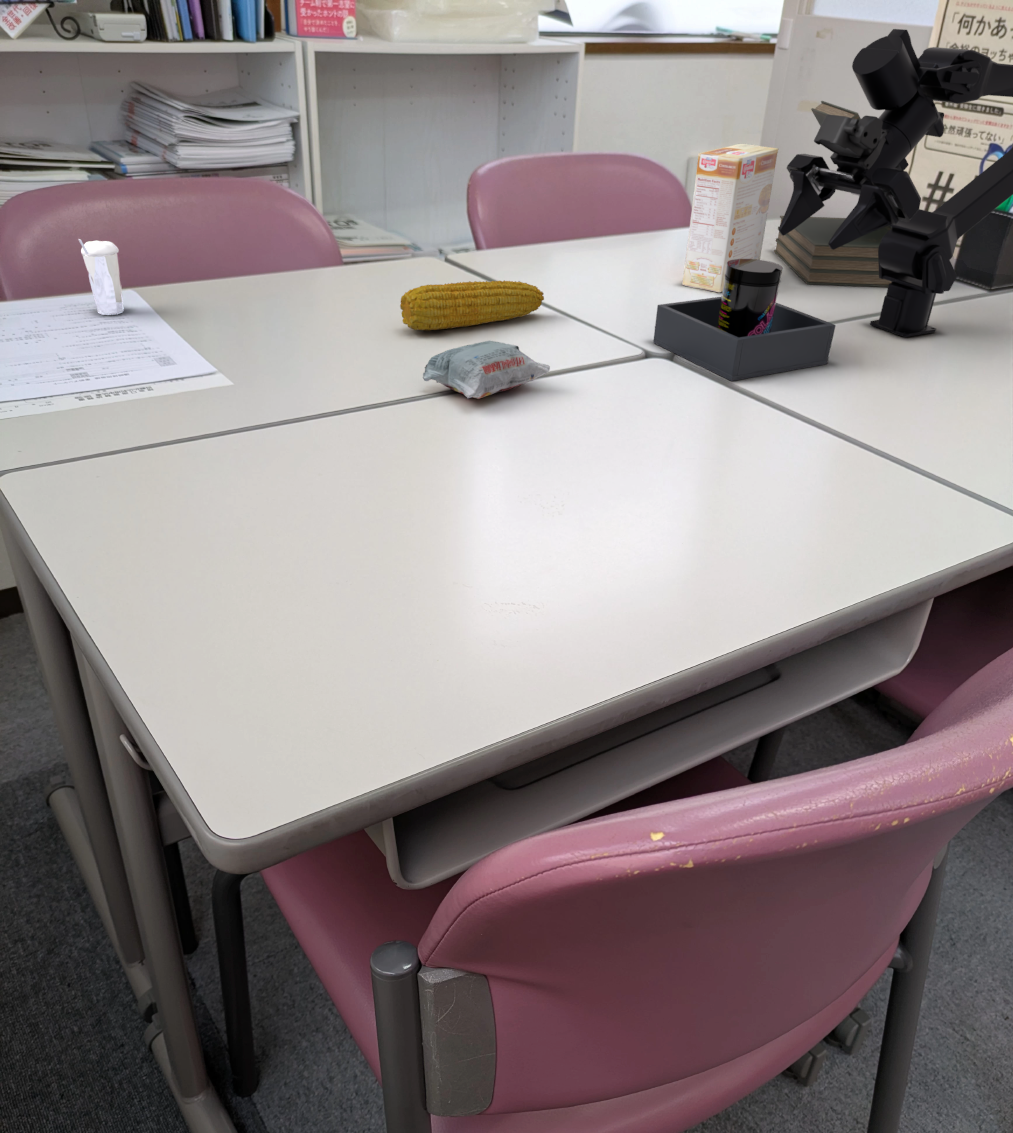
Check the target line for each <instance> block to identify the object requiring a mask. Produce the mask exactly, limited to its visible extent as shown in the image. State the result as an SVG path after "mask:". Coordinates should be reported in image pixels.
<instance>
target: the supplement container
mask: <svg viewBox="0 0 1013 1133" xmlns="http://www.w3.org/2000/svg"><path fill="white" fill-rule="evenodd" d="M783 269H784V268H783V266H782V265H780V264H779V263H776V262H773V261H769V260H762V259H760V260H756V259H735V260H730V261H728V262H727V265H726V272H725V280H724V286H723V291H722V292H721V293H722V294H721V297H722V299H721V306H720V312H719V319H718V325H717V328H718V329H720V330H722V331H725V332H727V333H729V334H732V335H734V336H736V337H745V336H752V335H758V334H765V333H770V332H771V327H772V321H773V316H774V311H775V305H776V303H777V299H778V295H779V288H780V283H781V279H782V273H783Z"/></svg>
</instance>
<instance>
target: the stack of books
mask: <svg viewBox="0 0 1013 1133" xmlns="http://www.w3.org/2000/svg"><path fill="white" fill-rule="evenodd" d="M810 110H811V112H812V113H813V116H814V117H815V119H816V121H817V123H818V125H819V127H821V125H822V123H823V121H824V118H825V116H826V115H827V114H829V115H838V116H846V117H850V118H852V119H858V120H859V121H860V120H861V119H862V117H861V116H860V114H859V112H856V111H855V110H851V109H848V108H845V107H842V106H839V105H836V104H833V103H830V102H827V101H824V100H821V101H820V104H819V105H817V106H816V107H814V108H813V107H812V108H810ZM783 217H784V215H779V218H780V222H779V226H777V230H778V235H777V238H775V242H776V246H775V249H774V250H773V252H774V253H775V254H776V255H777V256H778V257H779V258H780V259H781V260H782V261H783V262H784V263H785V264H786V265H787V266H788V267H789V268H790V269H791V270H792V271H793V272H794V273H795V274H796V275H797V276H798V277H799V278H800V279H801V280H802V281H803V282H804V283H805V284H806V285H819V286H821V285H822V286H827V285H828V286H848V287H849V286H850V287H873V288H874V287H876V288H888V286H889V284H890V283H892V282H891V281H888V280H885V279H880V278H879V263H878V248H879V245H880V242H881V239H882V238H883V236H884V235H885V234H886V233H887V232H888V231H889V230H890V229H892V228H891V227H890V225H888V226H886V227H883V228H881V229H878V230H876V231H873V232H871V233H869V234H866V235H864V236H862V237H860V238H857V239H855V240H853V241H851V242H849V243H847V244H845V245H843V246H841V247H838V248H836V249H834V250H833V249H831V248H830V247H829V245H828V242H829V241H830V239H831V238H832V236H833V235H834V233H835V232H836V230H837V229H838V228H839V227H840V225H841V224H842V223H843V221H844V220H845V219H846V218H847V217H830V216H828V217H825V216H811V217H809V218H808V219H807V220H805V221H804V222H803V223H801V224H800V225H799V226H797V227H796V228H795V229H793V230H792V231H790V232H789V233H787V234H786V235H781V233H780V232H779V227H780V225H781V222H782V220H783Z"/></svg>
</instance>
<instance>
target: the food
mask: <svg viewBox="0 0 1013 1133" xmlns="http://www.w3.org/2000/svg"><path fill="white" fill-rule="evenodd" d="M543 301H545V296H544V292H543V291H541V290H540V289H539V287H537V285H533V284H530V283H528V282H523V281H516V280H515V281H513V280H492V281H487V280H484V281H476V280H475V281H470V280H469V281H460V282H456V283H455V282H450V283H449V282H448V283H444V284H425V285H420V286H418V287H414V288H412V289H409V290H408V291H407V292H406V291H405V292H404V294H403V295H402V296H401V298H400V305H399V307H400V310H401V317H402V323H403V324H404V325H407V327H408V328H409V329H411V330H415V331H417V330H419V331H432V330H434V331H436V330H447V329H454V328H456V329H457V328H462V327H465V328H466V327H471V326H478V325H482V324H487V323H488V324H489V323H493V322H494V323H495V322H496V323H497V322H500V321H506V320H512V319H515V318H516V319H517V318H518V317H519V318H522V317H524V316H528V315H529V314H530V313H532V312H535V311H537V310H539V308H541V305H542V304H543Z"/></svg>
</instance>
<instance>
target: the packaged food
mask: <svg viewBox="0 0 1013 1133" xmlns="http://www.w3.org/2000/svg"><path fill="white" fill-rule="evenodd" d="M550 370H551V366H550V365H549V364H546V363H541V362H537V361H535V360H534V359H532V358H531V357H529V356H528V355H527V354H526V353H524V352H522V351H521V350H520V347H519V345H515V344H510V343H505V342H500V341H495V340H485V341H480V342H475V343H472V344H467V345H463V346H462V345H461V346H458V347H455V348H454V347H453V348H450V349H447V350H445V351H443V352H440V353H437V354H435V355H433V356H432V357H431V358H429V360H428V362H427V364H426V365H425V366H424V372H423V373H422V379H423V381H424V382H429V381H430V380H433V381H435V382H436V383H437V384H439V385H440V384H441V385H442V386H444V387H446V388H448V389H450V390H452V391H454V392H457V393H459V394H462V395H464V396H465V397H466V398H467V399H470V398H474V399H478V400H479V399H482V398H485V397H488V396H491V395H493V394H497V393H501V392H505V391H508V390H511V389H513V388H517V387H519V386H522V385H525V384H528V383H531V382H533V381H535V380H536V379H537V378H539V377H542V376H543V375H546V374H548V373H549V372H550Z"/></svg>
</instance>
